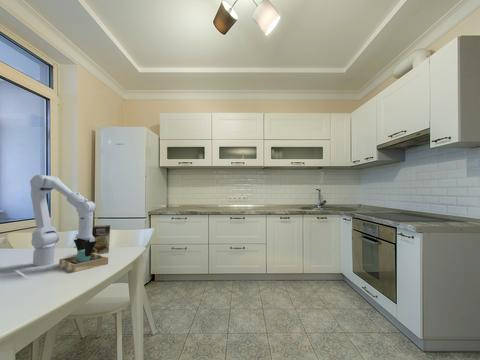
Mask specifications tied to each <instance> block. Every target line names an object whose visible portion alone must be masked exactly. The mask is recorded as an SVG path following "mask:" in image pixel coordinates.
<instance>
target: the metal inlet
mask: <svg viewBox="0 0 480 360" xmlns="http://www.w3.org/2000/svg"><path fill="white" fill-rule="evenodd" d="M92 260H97V259H95V258H93V257H90V260H89V261H92ZM85 262H88V261H85ZM70 263H73V264H79V263H83V262H78V261H77V259H75V260H70Z"/></svg>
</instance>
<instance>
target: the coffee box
mask: <svg viewBox="0 0 480 360" xmlns="http://www.w3.org/2000/svg"><path fill="white" fill-rule="evenodd" d="M110 234H111V224H110V225H109V224H108V225H107V224H105V225H93V229H92V235H93V237H95V241H97V243H96V244H95V246H94V248H93V250H92V253H96V254H99V255H103V254H110V239H111V238H110V237H111V235H110Z"/></svg>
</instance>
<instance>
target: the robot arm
mask: <svg viewBox="0 0 480 360" xmlns="http://www.w3.org/2000/svg"><path fill="white" fill-rule="evenodd" d="M29 183H30V197H31V203H32V209H33V214H34V220H35V225H36V229H35V230H33V232H32V233H31V237H32V238H31V241H30V242H31V245H32V246H33V248H34V250H33V254H32V255H33V256H32V257H33V258H32V263H30V266H35V267H44V266H50V265H53V264H54V263H55V249H56V246H57V243H59V241H60V235H59V233H58V232H57V229H56V228H55V227H54V226H52V222H51V217H50V213H49V206H48V201H47V194H48V193H50V192H51V191H53V190H56V191H57V192H59V193H60V194H61V195H63V196H64V197H65V198H66V201H67V202H68V203H69V204H70V205H72V206H73V207H74V208H76V212H77V214H78V229H77V230H78V231H77V232H78V233H76V234H75V239H73V242H74V244H75V246H76V247H75V248H76V250H77V251H79V250H84V249H85V256H86V257H87V256H91V254H92V250H93V248H94V246H95V244H96V243H97V241H95V237H93V235H92V229H93V226H94V223H93V222H94V213H95V211H96V210H97V205H96V202H94V201H91V200H89V199H88V198H85V197H84V196H82V195H81V194H82V193H80V192H77V191H72V190H71V189H70V188H69V187H68V186H66V185H65V183H63V182H62V180H61V179H60V178H59V177H57V176H56V175H44V174H43V175H42V174H35V175H34V176H32V178H31V179H30V180H29ZM77 251H76V252H77Z"/></svg>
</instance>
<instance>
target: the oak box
mask: <svg viewBox="0 0 480 360" xmlns="http://www.w3.org/2000/svg"><path fill="white" fill-rule="evenodd" d="M90 257H93V258H95V259H97V260H92V261H88V262H83V263H79V264H73V263H70V260H75V259H77V255H75V256H69V257H65V258H59V263H58V266H59V267H60V268H61V269H64V270H66V271H69V272H71V273H74V274H75V273H77V272H81V271H86V270H89V269H94V268H98V267H102V266H107V265H109V257H108V256H106V255H103V254H96V253H92V254H91V256H90Z"/></svg>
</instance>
